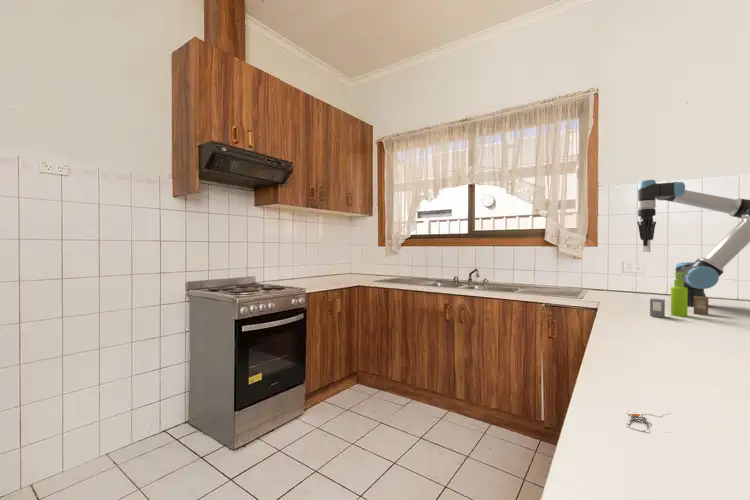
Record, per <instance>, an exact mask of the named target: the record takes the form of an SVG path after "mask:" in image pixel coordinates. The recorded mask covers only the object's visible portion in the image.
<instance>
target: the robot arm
mask: <svg viewBox="0 0 750 500" xmlns="http://www.w3.org/2000/svg"><path fill="white" fill-rule="evenodd" d="M637 187H638V188H637V201H638V203H637V205H638V207H637V208H638V210H637V216H638V217H640V220H639V221H637V222H636V223H637V226H638V232H639V238H640V240H641V241H642V242H643V243H642V246H643V247H642V251H643V253H650V252H651V241H653V240H654V236H655V228H656V225H657V221H654V216H656V206H657V205H656V201H668V202H671V203H677V204H682V205H687V206H691V207H697V208H701V209H706V210H709V211H715V212H720V213H723V214H724V213H725V214H728V215H729V216H730V217H732V218H738V219H741V220H740V222H739V223H737V225H736V226H734V228H733V229H731V230H730V232H729V233H727V235H726V236H724V237H723V238H722V239H721V240H720V241H719V242H718V243H716V245H715V246H714V248H712V249H711V250H710V251H709V252H708V253H707V254H706V255H705V256H704V257H699V258H697V259H696V260H695V261H694V262H688V261H687V262H678V263H676V265H675V269H674V270H675V273H688V274H689V275H686V274H681V279H682V280H684V287H686V288H687V307H694V296H697V297H707V295H706V294H705V290H706V289H711V288H712V287H714V286H716V285H717V283H718V282H719V278H720V277H721V275H723V274H724V273H725V271H724V268H725V266H727V265H728V264H729V263H730V262H731V261H732V260H733V259H734V258H735V257H736V256H738V254H739V253H740V252H741V251H742V250H744V248H745V247H746V246H748V244H750V199H745V198H741V197H739V198H735V199H734V198H728V197H724V196H723V197H722V196H718V195H713V194H708V193H703V192H702V193H701V192H697V191H693V190H692V191H691V190H687V189H686V184H685V182H683V181H674V182H673V181H672V182H663V183H662V182H661V183H660V182H659V183H658V182H656V180H655V179H645V180H641V181H639V182H638V185H637ZM676 279H677V274H675V280H676Z"/></svg>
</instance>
